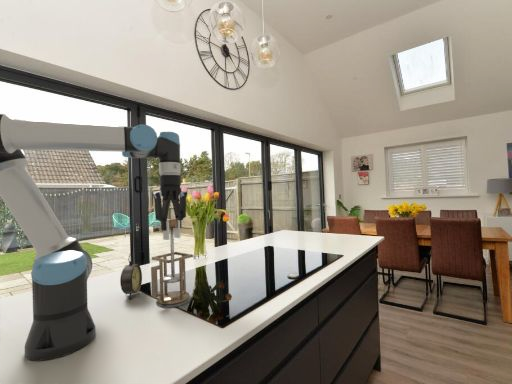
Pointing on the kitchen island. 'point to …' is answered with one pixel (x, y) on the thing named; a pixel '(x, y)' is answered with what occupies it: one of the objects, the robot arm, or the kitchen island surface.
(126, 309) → the kitchen island surface
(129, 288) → the alarm clock
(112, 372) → the kitchen island surface
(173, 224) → the plunger
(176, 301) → the press frame
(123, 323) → the kitchen island surface
